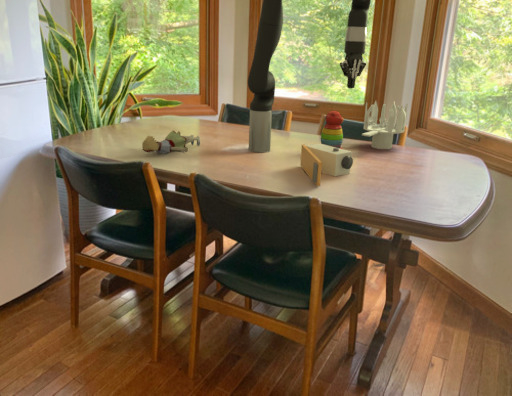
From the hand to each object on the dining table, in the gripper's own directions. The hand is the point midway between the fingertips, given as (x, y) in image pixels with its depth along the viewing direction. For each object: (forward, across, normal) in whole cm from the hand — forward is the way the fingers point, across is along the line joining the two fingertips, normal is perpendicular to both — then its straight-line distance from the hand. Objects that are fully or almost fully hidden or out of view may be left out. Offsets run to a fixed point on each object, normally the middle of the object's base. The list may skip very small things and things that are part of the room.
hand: (350, 88), depth 177 cm
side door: (+28, -28, -8) cm, 40 cm away
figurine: (+30, -50, +50) cm, 77 cm away
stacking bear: (+29, +7, +13) cm, 32 cm away
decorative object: (+29, +30, +6) cm, 42 cm away
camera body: (+29, -16, -5) cm, 33 cm away
